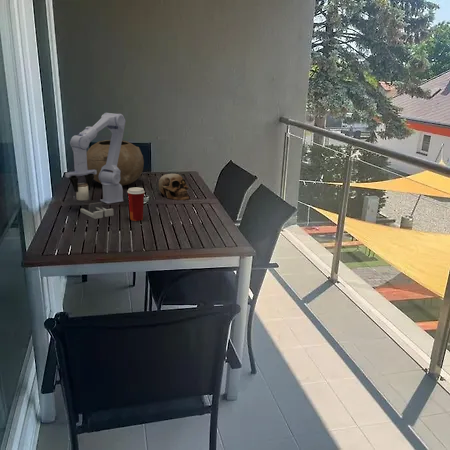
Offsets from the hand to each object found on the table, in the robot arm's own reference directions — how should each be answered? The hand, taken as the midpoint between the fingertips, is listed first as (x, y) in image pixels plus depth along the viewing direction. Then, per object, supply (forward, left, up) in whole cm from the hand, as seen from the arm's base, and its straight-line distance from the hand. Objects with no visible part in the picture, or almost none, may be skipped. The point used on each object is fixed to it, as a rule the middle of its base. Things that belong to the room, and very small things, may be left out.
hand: (82, 190), depth 211 cm
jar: (0, 0, -4) cm, 4 cm away
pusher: (-2, +11, -9) cm, 15 cm away
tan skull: (-51, +4, -10) cm, 52 cm away
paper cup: (-12, +27, -10) cm, 31 cm away
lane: (-2, +9, -9) cm, 13 cm away
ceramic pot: (-40, -38, -10) cm, 56 cm away
